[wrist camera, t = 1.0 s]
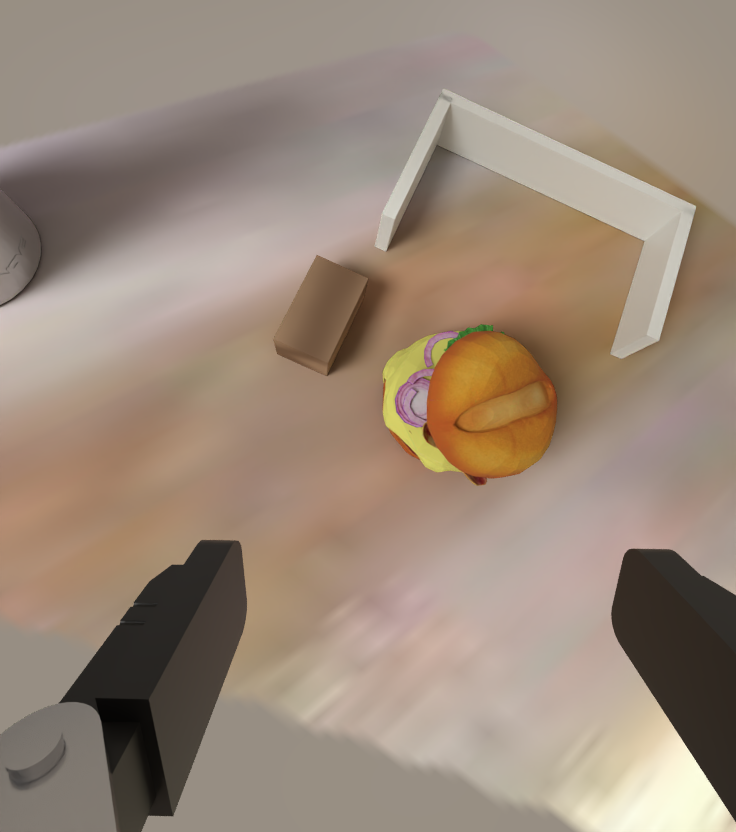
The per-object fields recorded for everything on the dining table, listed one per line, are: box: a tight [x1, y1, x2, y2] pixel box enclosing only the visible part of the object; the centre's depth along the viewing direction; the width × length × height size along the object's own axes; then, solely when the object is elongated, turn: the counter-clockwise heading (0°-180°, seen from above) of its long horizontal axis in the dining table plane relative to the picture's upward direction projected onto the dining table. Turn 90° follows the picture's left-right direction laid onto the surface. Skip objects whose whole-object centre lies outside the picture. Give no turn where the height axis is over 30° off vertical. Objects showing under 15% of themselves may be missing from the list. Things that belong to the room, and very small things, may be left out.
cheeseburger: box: [383, 324, 557, 486], centre depth 29 cm, size 10×11×10 cm
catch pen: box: [375, 88, 696, 359], centre depth 34 cm, size 22×12×4 cm, turn 67°
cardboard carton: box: [273, 255, 368, 376], centre depth 31 cm, size 4×7×3 cm, turn 157°
